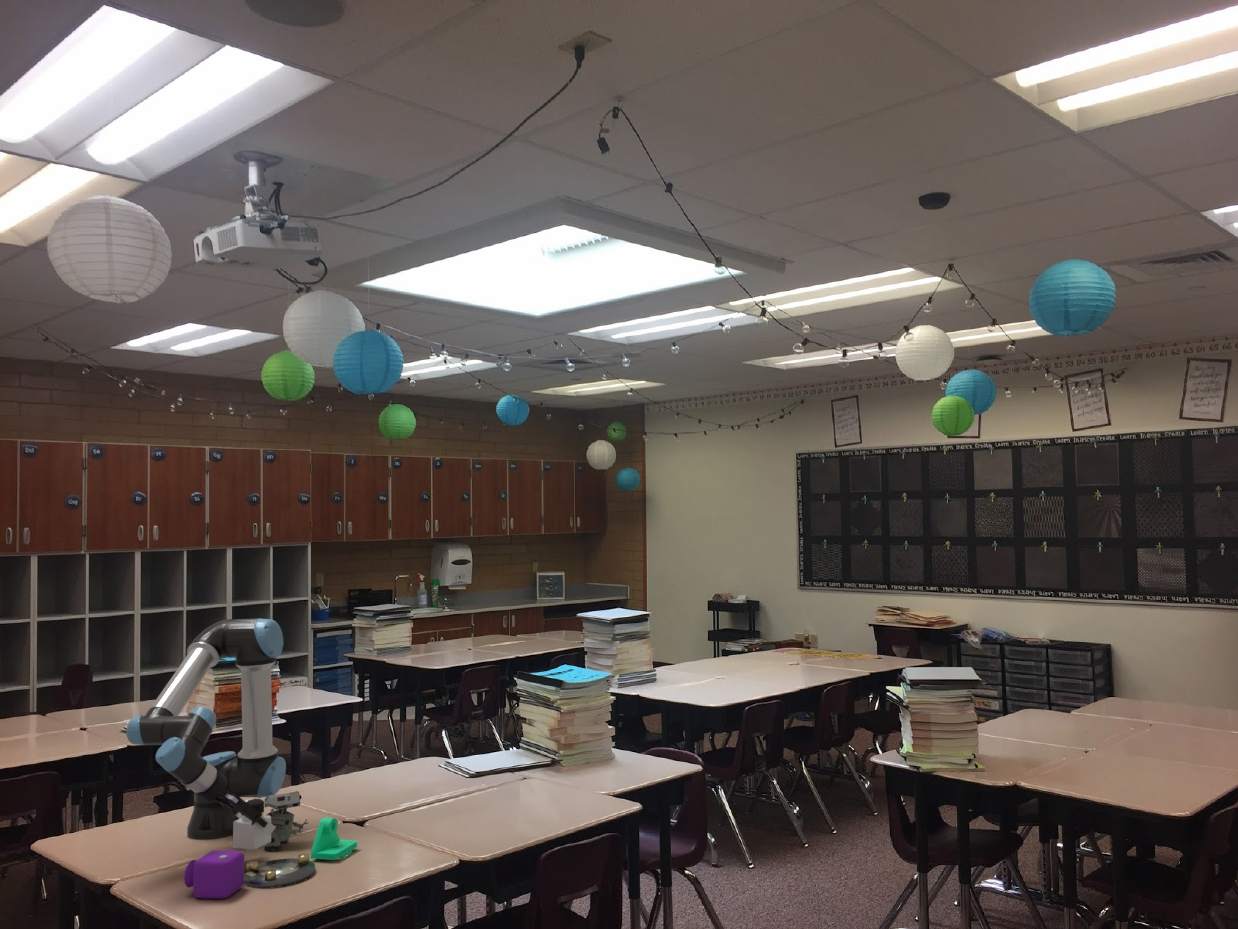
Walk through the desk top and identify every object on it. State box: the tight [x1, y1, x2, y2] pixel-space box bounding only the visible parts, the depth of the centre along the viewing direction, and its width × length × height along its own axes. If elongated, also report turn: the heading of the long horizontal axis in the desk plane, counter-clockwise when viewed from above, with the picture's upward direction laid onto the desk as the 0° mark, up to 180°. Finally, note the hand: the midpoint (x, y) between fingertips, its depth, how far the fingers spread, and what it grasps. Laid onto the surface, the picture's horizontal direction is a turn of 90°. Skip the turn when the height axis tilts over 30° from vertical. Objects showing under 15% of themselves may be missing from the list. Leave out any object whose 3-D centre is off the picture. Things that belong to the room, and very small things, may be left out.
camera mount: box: [310, 817, 358, 861], centre depth 267 cm, size 12×8×10 cm, turn 165°
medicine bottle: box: [232, 798, 271, 851], centre depth 262 cm, size 7×7×12 cm
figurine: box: [263, 790, 309, 852], centre depth 276 cm, size 9×12×15 cm
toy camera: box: [183, 850, 245, 900], centre depth 240 cm, size 11×14×10 cm
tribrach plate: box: [243, 853, 316, 889], centre depth 251 cm, size 18×18×4 cm
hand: (263, 827), depth 264 cm, fingers closed on medicine bottle, 9 cm apart
